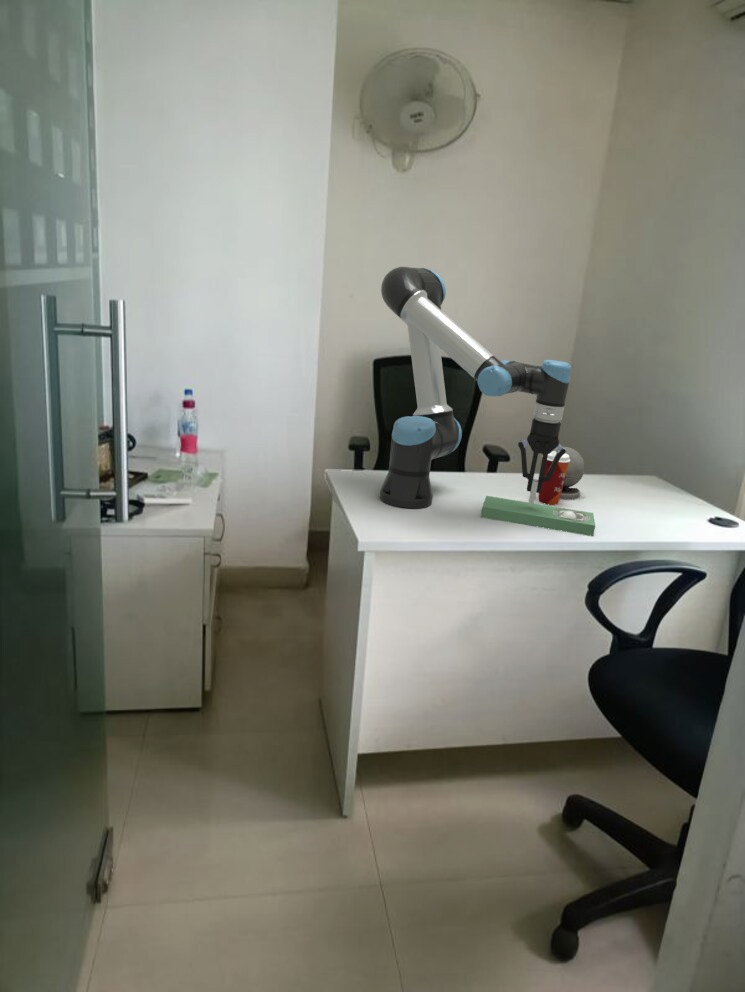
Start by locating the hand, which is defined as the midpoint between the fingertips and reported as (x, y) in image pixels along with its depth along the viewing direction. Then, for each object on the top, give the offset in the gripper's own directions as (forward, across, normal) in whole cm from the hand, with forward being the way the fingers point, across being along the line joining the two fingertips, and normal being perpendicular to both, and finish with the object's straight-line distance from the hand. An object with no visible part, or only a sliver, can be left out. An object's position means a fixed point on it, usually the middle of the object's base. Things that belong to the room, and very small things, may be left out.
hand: (531, 502), depth 196 cm
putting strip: (+5, +2, 0) cm, 5 cm away
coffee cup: (+5, +5, +19) cm, 21 cm away
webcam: (+5, +8, +30) cm, 32 cm away
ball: (+2, +11, -1) cm, 11 cm away
